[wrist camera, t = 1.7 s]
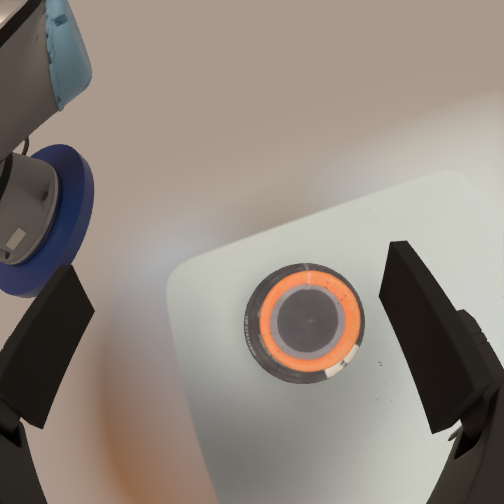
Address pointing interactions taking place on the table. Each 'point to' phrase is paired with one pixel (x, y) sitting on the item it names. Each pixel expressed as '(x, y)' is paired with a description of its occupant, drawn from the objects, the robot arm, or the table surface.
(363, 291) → the table surface
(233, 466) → the table surface
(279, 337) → the pill bottle
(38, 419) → the robot arm
